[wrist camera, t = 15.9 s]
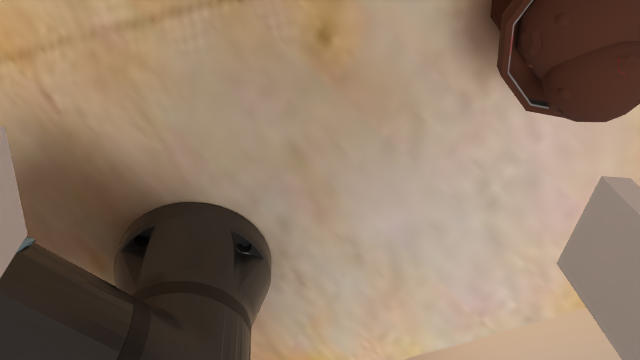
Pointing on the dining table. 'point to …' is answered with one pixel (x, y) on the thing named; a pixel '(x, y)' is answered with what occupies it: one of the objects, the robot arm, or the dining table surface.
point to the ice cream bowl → (571, 56)
